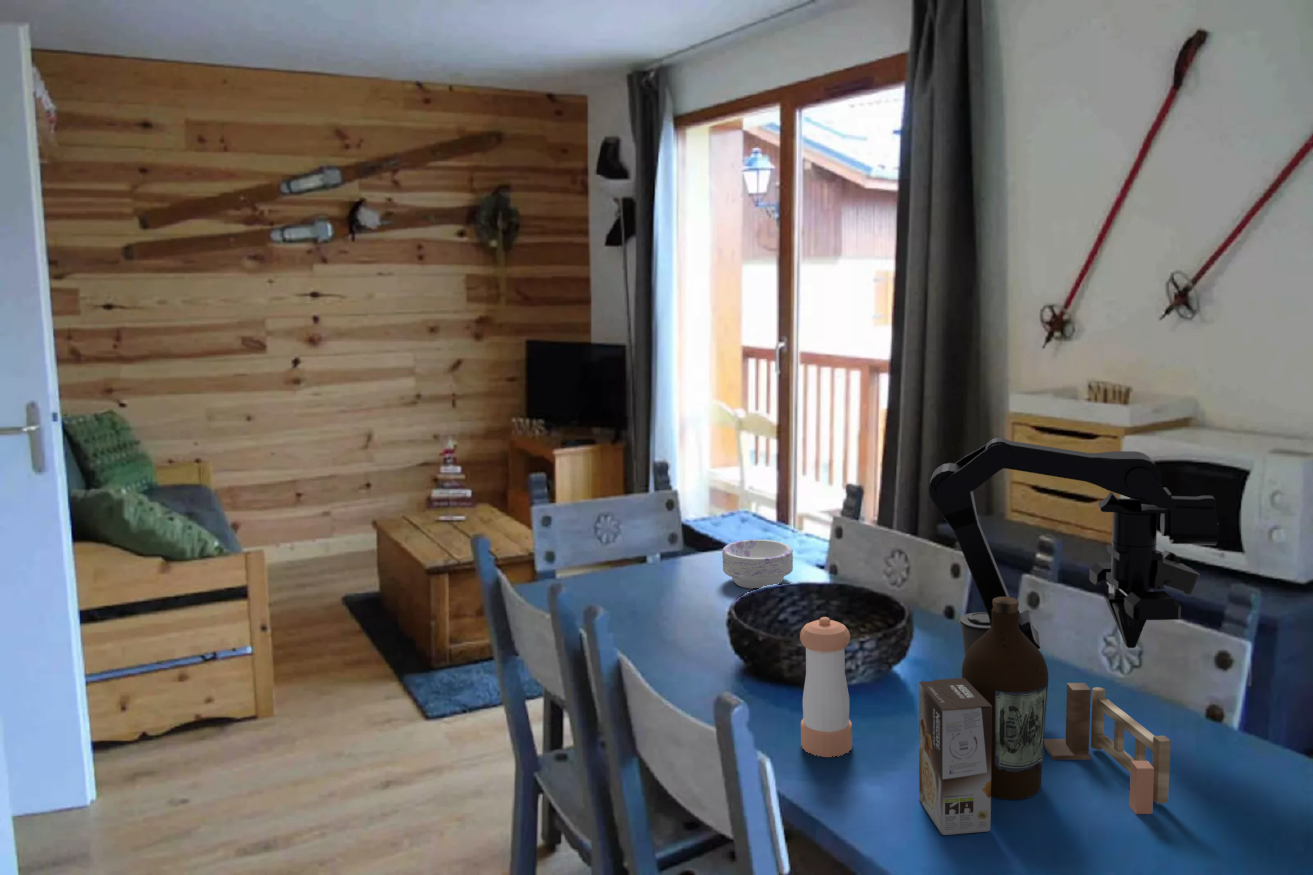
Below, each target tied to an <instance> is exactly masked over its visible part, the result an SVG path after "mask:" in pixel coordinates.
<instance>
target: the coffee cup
mask: <svg viewBox="0 0 1313 875" xmlns="http://www.w3.org/2000/svg"><path fill="white" fill-rule="evenodd" d="M957 623H958V624H959V625H960V626H961V635H962V643H963V644H962V645H963V653H964V656H965V655H966V652H967V650H968V649H969V648H970V646H971V645H972V644H973V643H974V642H975V641H977V640H978V639H979V638H980V637H981V636H982V635H983V634H985V633H986V632H987V631H988V630H989V629H990V628H991V626H990V620H989V616H988V613H987V612H970V613H966V614H963V615H962V616H960V618H959V619H958V622H957Z"/></svg>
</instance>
